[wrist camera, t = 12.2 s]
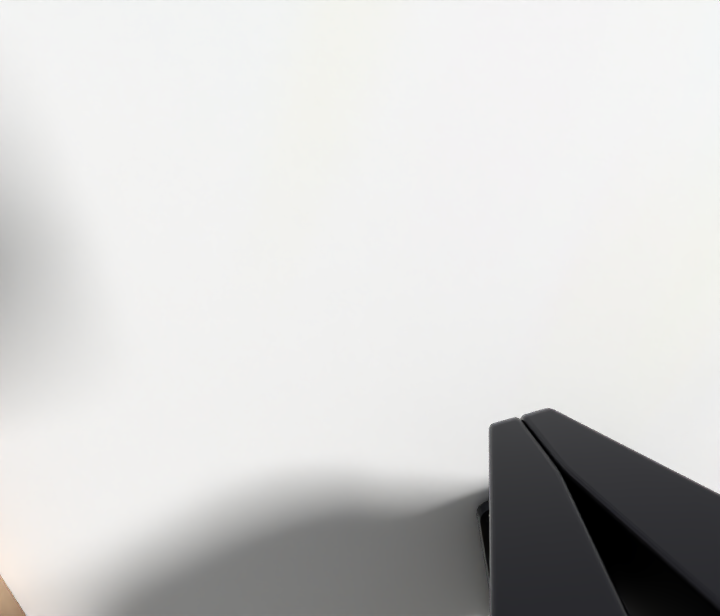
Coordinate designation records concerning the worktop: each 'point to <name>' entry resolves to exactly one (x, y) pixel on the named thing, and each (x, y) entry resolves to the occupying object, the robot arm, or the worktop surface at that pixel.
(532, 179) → the worktop surface
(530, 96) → the worktop surface
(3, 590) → the rail board
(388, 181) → the worktop surface
